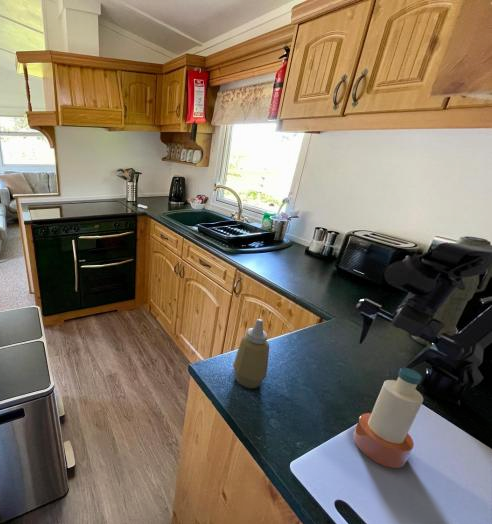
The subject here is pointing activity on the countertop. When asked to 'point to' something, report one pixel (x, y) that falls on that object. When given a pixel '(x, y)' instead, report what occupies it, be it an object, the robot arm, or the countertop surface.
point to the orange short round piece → (381, 445)
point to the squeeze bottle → (252, 357)
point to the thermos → (460, 294)
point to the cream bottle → (396, 407)
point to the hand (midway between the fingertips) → (381, 356)
